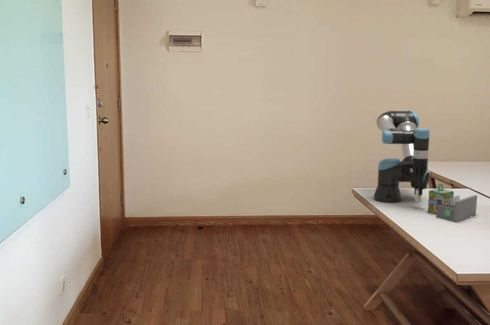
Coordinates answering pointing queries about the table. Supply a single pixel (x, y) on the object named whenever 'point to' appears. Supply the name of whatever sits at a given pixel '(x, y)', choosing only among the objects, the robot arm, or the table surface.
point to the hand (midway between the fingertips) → (417, 201)
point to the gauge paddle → (451, 201)
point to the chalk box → (438, 198)
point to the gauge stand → (458, 209)
